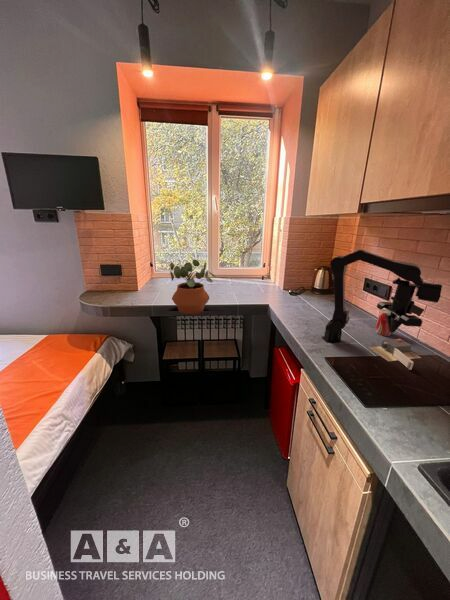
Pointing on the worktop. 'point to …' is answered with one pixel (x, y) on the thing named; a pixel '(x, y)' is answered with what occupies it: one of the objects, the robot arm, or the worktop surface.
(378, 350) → the board
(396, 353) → the cream rectangular bar
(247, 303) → the worktop surface
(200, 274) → the potted plant
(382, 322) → the soda can
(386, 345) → the camera body
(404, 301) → the robot arm
